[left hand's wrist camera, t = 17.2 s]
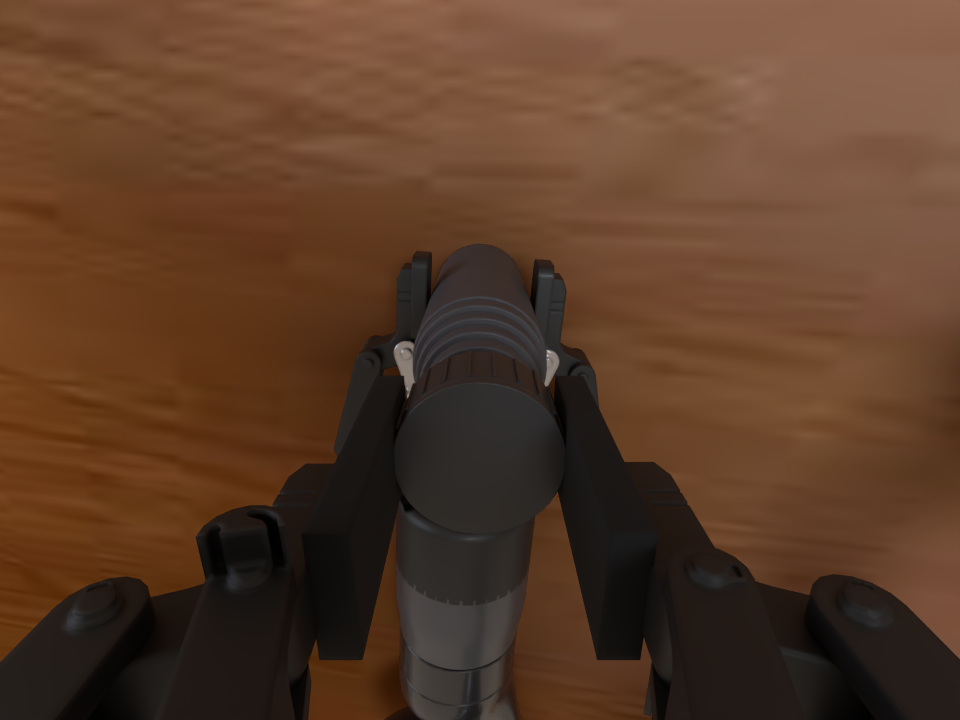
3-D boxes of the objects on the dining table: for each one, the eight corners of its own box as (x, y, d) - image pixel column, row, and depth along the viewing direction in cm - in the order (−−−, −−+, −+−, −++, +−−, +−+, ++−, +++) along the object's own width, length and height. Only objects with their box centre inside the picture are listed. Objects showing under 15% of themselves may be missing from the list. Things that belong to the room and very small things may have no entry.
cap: (585, 388, 14) (602, 425, 12) (512, 508, 16) (517, 558, 14) (441, 322, 14) (435, 349, 12) (378, 453, 15) (363, 497, 13)
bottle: (495, 341, 32) (514, 558, 14) (422, 302, 31) (349, 483, 14) (537, 270, 30) (616, 418, 13) (462, 227, 29) (438, 324, 12)
